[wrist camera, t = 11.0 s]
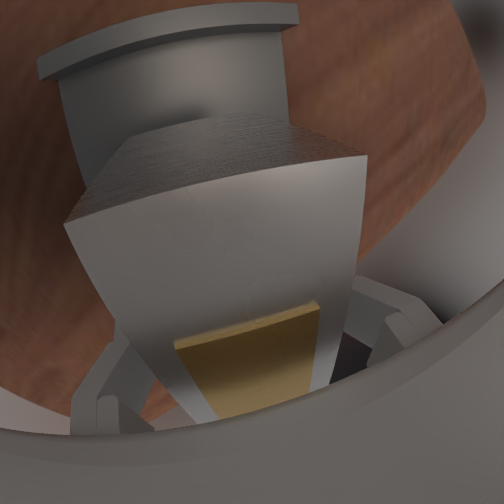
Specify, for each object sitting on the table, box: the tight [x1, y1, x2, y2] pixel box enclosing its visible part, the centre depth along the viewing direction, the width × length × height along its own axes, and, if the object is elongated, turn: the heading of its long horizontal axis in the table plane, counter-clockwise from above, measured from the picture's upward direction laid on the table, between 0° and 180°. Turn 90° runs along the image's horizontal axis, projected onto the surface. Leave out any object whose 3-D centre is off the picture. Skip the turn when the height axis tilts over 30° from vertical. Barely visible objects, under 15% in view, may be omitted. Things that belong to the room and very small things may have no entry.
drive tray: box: [37, 2, 300, 189], centre depth 15 cm, size 12×20×4 cm, turn 7°
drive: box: [63, 111, 367, 424], centre depth 8 cm, size 10×4×6 cm, turn 7°
